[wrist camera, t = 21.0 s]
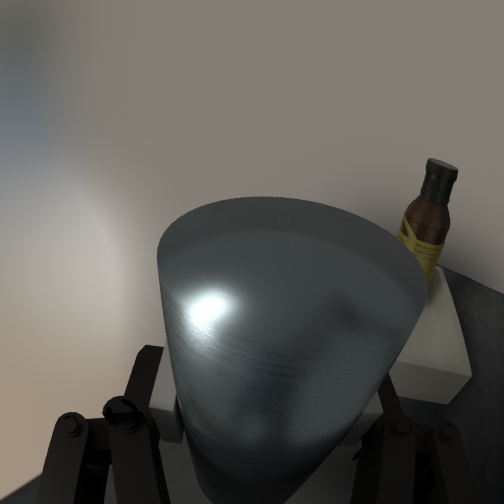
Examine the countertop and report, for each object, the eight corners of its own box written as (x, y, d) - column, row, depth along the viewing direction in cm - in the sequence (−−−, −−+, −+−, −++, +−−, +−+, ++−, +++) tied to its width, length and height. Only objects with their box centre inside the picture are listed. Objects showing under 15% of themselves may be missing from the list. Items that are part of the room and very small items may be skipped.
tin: (286, 424, 17) (355, 200, 10) (309, 504, 12) (476, 320, 5) (192, 433, 16) (168, 196, 9) (202, 519, 11) (140, 366, 4)
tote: (351, 272, 46) (359, 244, 44) (429, 293, 43) (441, 267, 40) (331, 380, 28) (347, 348, 25) (447, 404, 24) (472, 375, 22)
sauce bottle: (383, 281, 43) (422, 152, 33) (419, 298, 40) (466, 169, 30) (370, 302, 38) (416, 155, 28) (410, 321, 35) (468, 175, 25)
